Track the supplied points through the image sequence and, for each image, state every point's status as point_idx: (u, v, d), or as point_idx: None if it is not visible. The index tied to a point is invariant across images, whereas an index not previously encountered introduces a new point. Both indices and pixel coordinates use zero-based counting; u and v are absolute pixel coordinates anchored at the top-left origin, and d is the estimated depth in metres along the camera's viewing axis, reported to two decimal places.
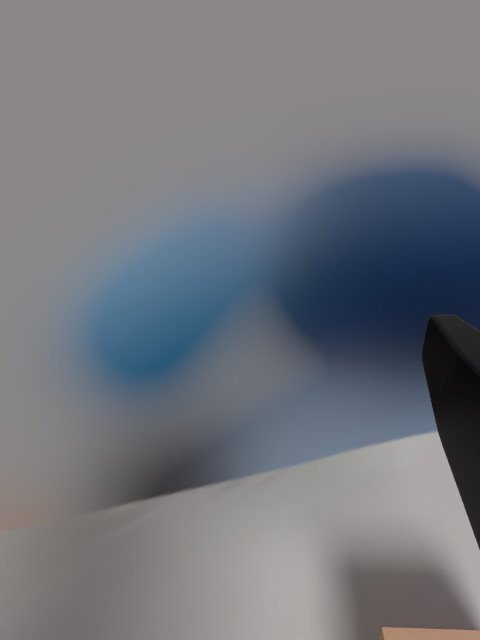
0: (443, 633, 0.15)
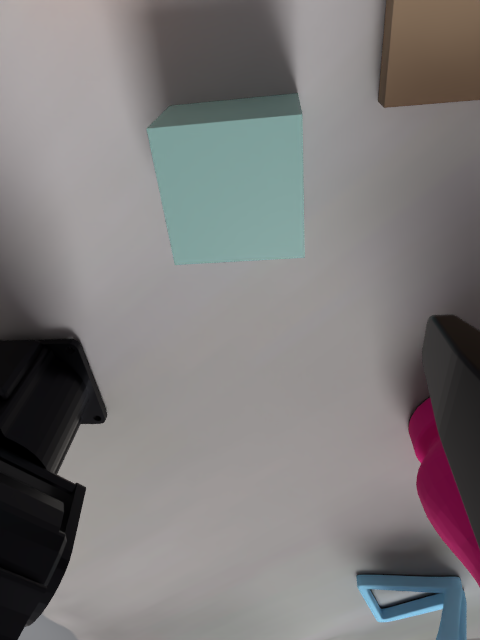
0: None
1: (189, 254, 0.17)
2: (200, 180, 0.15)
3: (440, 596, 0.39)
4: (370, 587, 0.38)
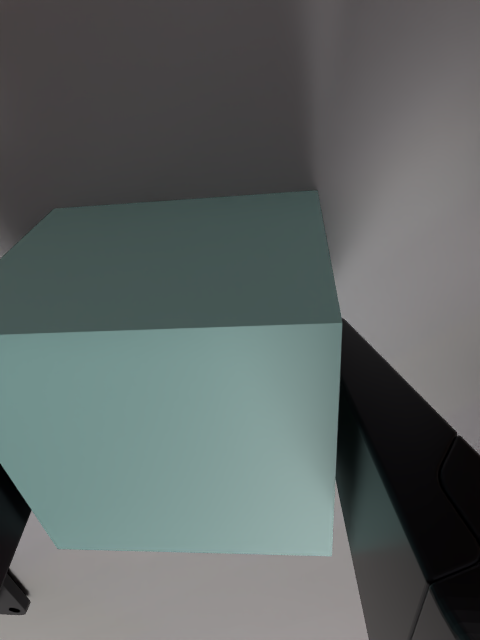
0: None
1: (84, 538, 0.08)
2: (81, 435, 0.06)
3: None
4: None
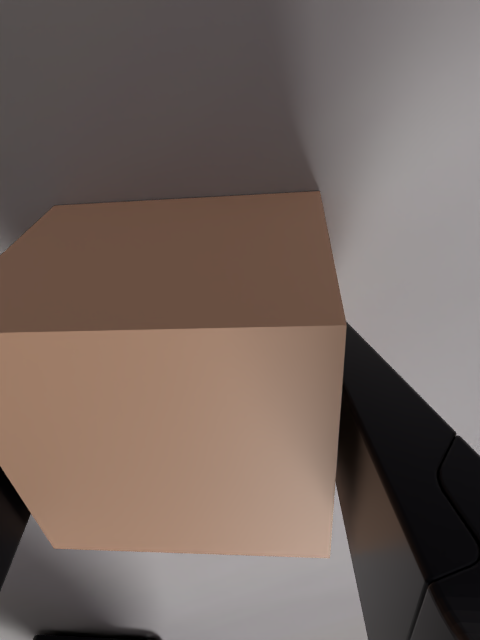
0: (83, 339, 0.05)
1: None
2: None
3: None
4: None
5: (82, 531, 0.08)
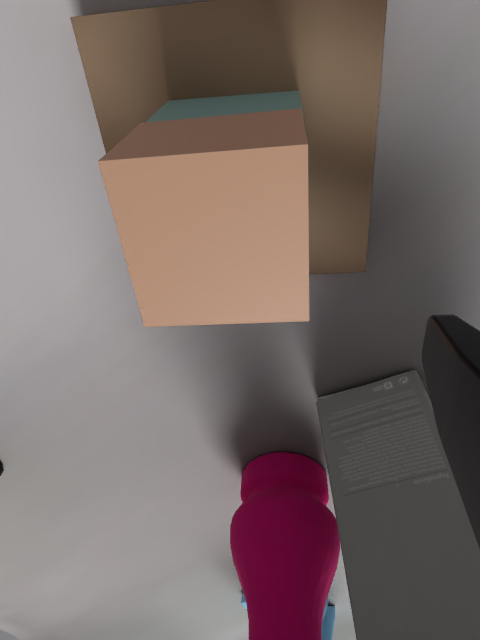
0: (182, 159, 0.10)
1: None
2: None
3: None
4: None
5: (164, 308, 0.13)
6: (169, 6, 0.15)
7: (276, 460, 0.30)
